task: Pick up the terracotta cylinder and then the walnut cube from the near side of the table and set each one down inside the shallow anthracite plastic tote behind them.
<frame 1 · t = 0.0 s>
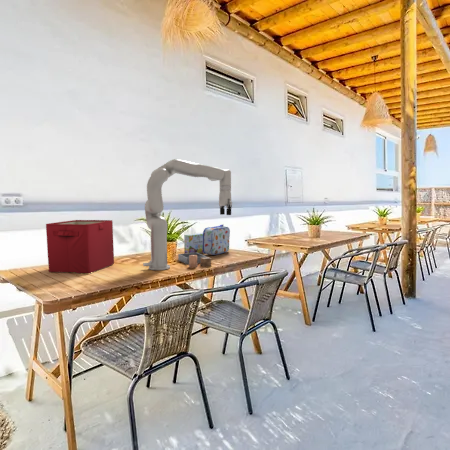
hand: (225, 214, 219), 31 cm above the table, fingers open, 9 cm apart
storage cube: (83, 268, 204), on the table
terracotta cylinder: (193, 266, 207), on the table
walnut cube: (205, 265, 209), on the table
tote: (192, 261, 224), on the table
snack box: (196, 253, 257), on the table
lunch box: (216, 253, 254), on the table
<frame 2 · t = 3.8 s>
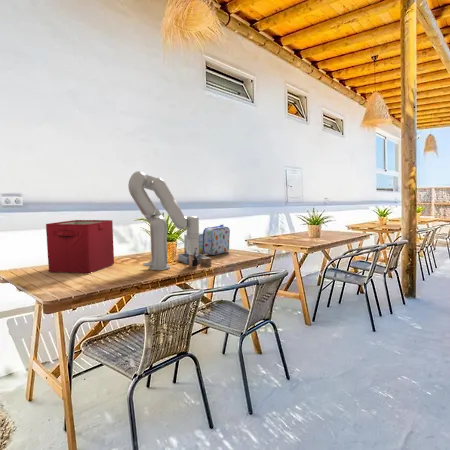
hand: (193, 265, 206), 1 cm above the table, fingers closed on terracotta cylinder, 5 cm apart
terracotta cylinder: (193, 266, 207), on the table, touching gripper
everything else where it was.
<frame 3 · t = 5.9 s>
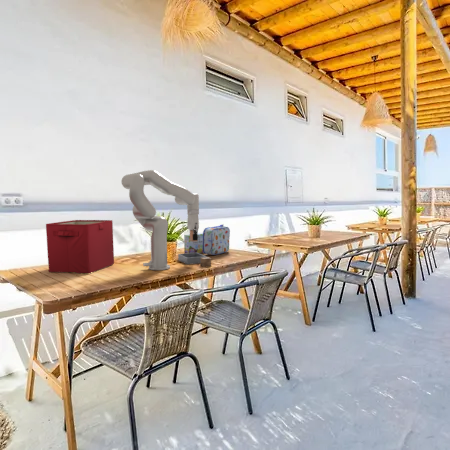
hand: (193, 239, 220), 15 cm above the table, fingers closed on terracotta cylinder, 5 cm apart
terracotta cylinder: (193, 240, 220), point 14 cm above the table, touching gripper
everything else where it was.
when the fingers open (4 cm above the table, at t = 8.1 s): terracotta cylinder drops 3 cm, resting on tote.
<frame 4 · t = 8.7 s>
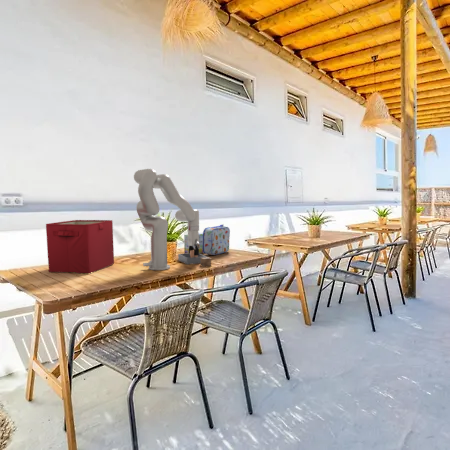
hand: (193, 254, 221), 5 cm above the table, fingers open, 9 cm apart
terracotta cylinder: (194, 261, 221), point 1 cm above the table, touching tote
everything else where it was.
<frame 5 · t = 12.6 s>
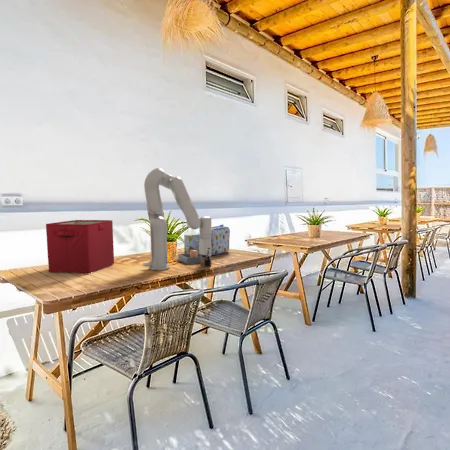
hand: (205, 264, 209), 0 cm above the table, fingers closed on walnut cube, 5 cm apart
walnut cube: (205, 265, 209), on the table, touching gripper
everything else where it was.
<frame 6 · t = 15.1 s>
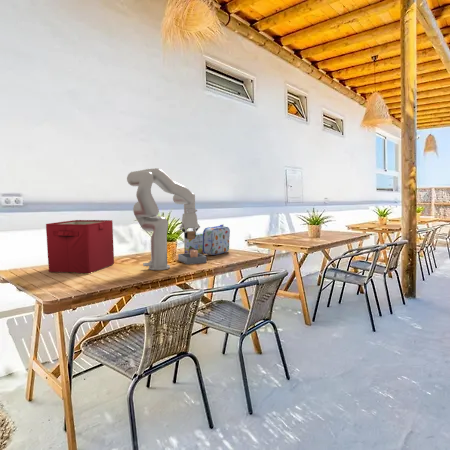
hand: (190, 237, 226), 15 cm above the table, fingers closed on walnut cube, 5 cm apart
walnut cube: (190, 238, 226), point 15 cm above the table, touching gripper
everything else where it was.
when the fingers open (4 cm above the table, at t = 17.5 s): walnut cube drops 3 cm, resting on tote.
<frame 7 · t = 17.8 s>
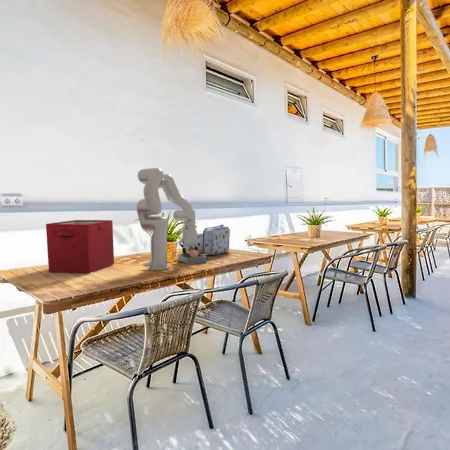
hand: (190, 253, 227), 5 cm above the table, fingers open, 8 cm apart
walnut cube: (190, 259, 227), point 1 cm above the table, touching tote
everything else where it was.
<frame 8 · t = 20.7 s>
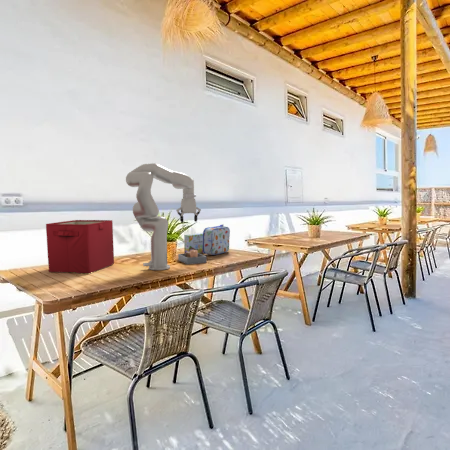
hand: (188, 221, 227), 26 cm above the table, fingers open, 9 cm apart
nothing on the table moved.
at the end: terracotta cylinder inside the target area on the tote (3.5 cm from its centre), point 0.6 cm above the tote's base; walnut cube inside the target area on the tote (3.4 cm from its centre), point 0.6 cm above the tote's base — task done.
